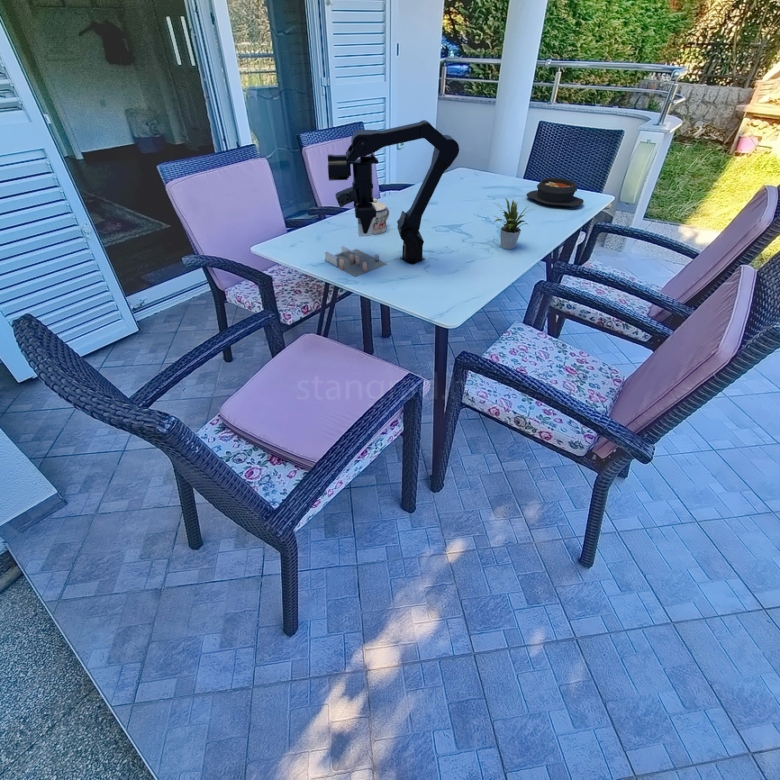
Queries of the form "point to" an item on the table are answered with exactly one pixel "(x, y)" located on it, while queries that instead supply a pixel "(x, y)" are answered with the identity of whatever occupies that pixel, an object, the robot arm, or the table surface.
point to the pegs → (357, 261)
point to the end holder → (334, 258)
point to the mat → (364, 257)
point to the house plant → (510, 226)
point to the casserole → (556, 192)
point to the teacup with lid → (379, 218)
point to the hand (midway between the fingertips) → (364, 230)
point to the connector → (360, 230)
